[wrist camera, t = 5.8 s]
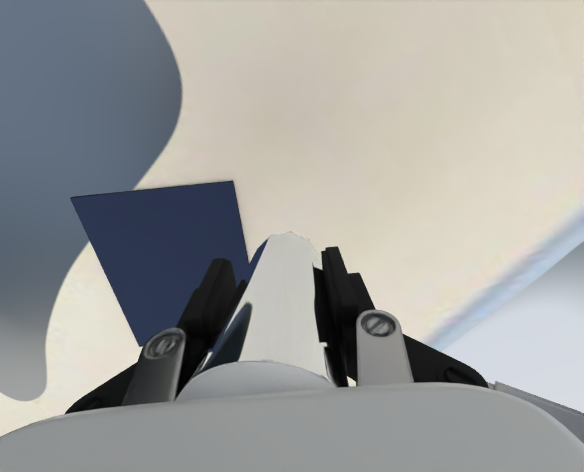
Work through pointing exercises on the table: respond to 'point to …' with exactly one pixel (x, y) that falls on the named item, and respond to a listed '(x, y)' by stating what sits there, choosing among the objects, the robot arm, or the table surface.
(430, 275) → the table surface
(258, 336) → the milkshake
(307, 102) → the table surface
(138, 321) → the mouse pad
